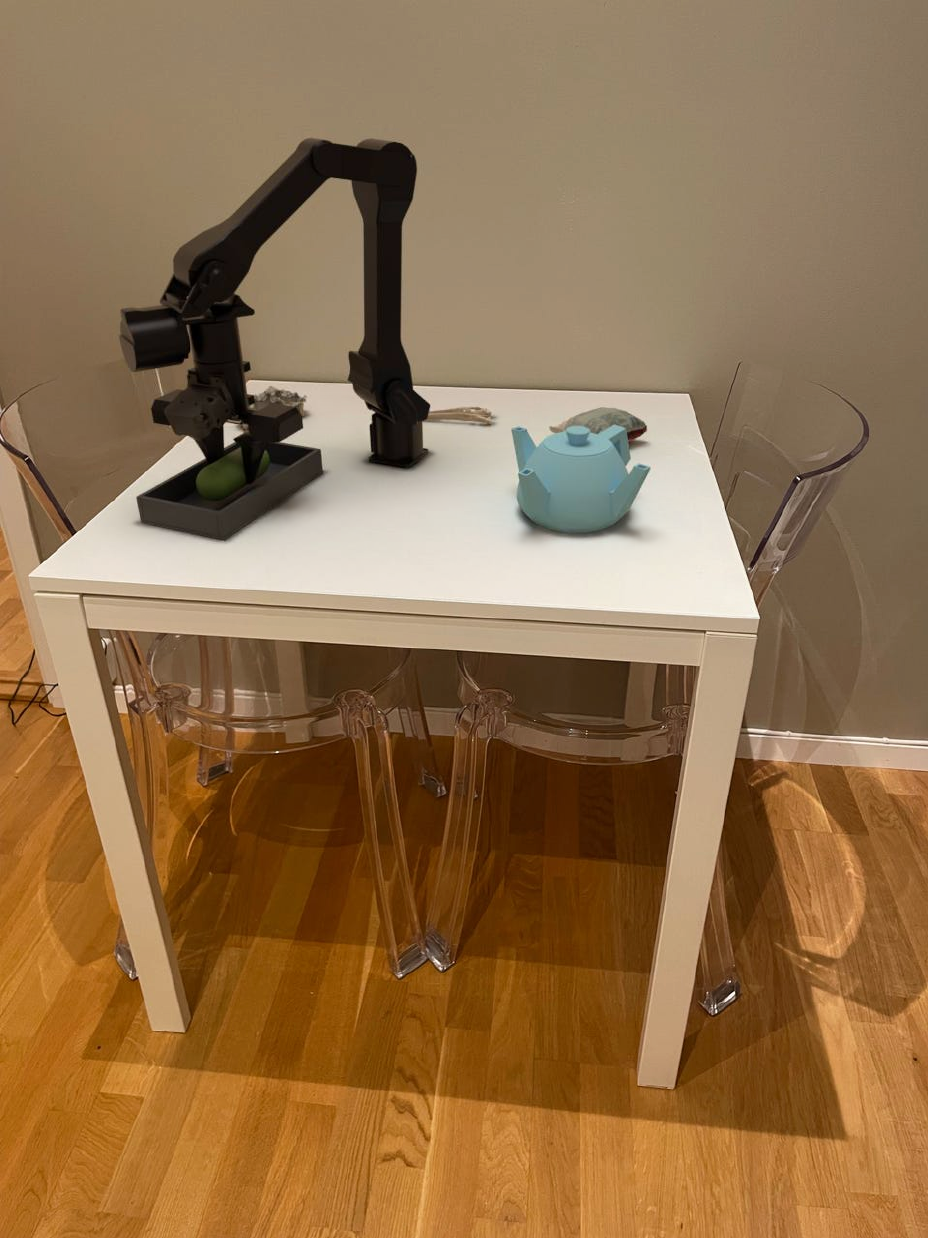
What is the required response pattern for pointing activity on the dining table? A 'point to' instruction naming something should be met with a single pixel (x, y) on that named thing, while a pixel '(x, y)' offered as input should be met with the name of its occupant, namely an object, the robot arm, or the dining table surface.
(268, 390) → the egg carton
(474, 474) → the dining table surface
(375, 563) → the dining table surface
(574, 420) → the packaged food
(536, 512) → the teapot
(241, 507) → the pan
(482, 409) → the animal skull
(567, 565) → the dining table surface
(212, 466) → the squash
